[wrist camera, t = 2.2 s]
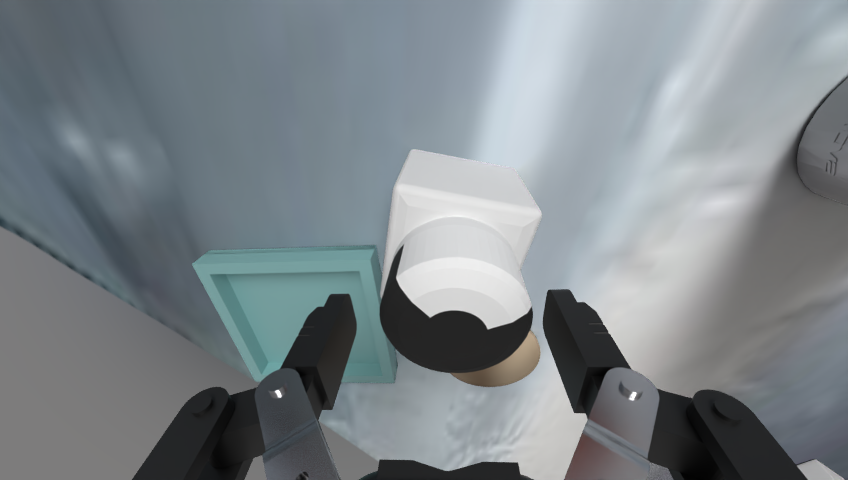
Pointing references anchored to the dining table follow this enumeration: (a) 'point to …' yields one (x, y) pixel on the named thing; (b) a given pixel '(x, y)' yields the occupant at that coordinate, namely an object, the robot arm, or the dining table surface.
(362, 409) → the dining table surface
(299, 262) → the tray
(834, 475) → the milk
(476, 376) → the cork coaster
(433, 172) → the medicine bottle
